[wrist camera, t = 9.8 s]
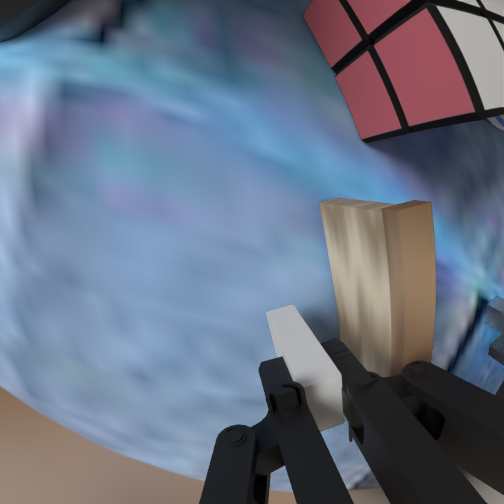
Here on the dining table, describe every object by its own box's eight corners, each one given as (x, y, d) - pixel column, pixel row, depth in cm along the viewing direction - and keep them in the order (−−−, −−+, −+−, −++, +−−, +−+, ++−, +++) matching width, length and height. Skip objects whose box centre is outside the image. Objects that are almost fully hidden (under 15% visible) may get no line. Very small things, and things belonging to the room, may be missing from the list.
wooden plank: (361, 383, 20) (412, 451, 12) (342, 390, 19) (389, 463, 12) (339, 194, 16) (431, 202, 8) (314, 199, 16) (397, 211, 8)
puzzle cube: (360, 145, 16) (484, 120, 7) (298, 15, 14) (359, -80, 4) (453, 119, 17) (551, 105, 7) (403, 12, 14) (478, -38, 5)
